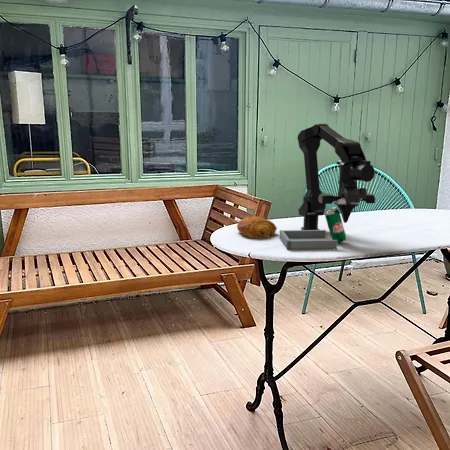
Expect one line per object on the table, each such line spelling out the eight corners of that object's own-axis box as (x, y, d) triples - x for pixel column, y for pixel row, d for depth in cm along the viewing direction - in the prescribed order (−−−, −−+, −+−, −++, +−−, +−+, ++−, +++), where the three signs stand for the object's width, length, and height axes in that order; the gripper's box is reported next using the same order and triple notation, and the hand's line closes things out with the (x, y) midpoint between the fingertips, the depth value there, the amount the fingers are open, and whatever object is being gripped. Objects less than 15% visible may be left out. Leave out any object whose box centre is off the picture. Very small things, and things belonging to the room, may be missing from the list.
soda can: (337, 244, 161) (328, 213, 158) (330, 242, 166) (321, 211, 163) (349, 239, 162) (340, 207, 159) (342, 237, 167) (333, 206, 164)
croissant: (244, 245, 169) (245, 225, 166) (233, 230, 183) (233, 211, 180) (281, 242, 173) (282, 222, 170) (267, 227, 187) (268, 209, 184)
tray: (279, 238, 171) (279, 230, 170) (324, 237, 172) (324, 229, 171) (287, 249, 155) (287, 241, 154) (336, 249, 156) (337, 240, 155)
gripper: (327, 181, 151) (325, 228, 154) (383, 181, 152) (379, 227, 155) (318, 177, 161) (317, 221, 165) (370, 177, 162) (367, 220, 166)
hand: (345, 222), depth 162 cm, fingers closed
